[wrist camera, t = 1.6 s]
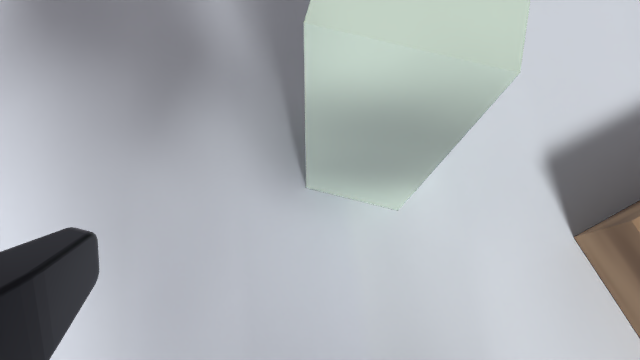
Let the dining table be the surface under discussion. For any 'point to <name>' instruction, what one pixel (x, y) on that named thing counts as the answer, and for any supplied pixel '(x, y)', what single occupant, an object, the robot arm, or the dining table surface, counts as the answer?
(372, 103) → the sage block
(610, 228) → the walnut base block
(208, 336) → the dining table surface
